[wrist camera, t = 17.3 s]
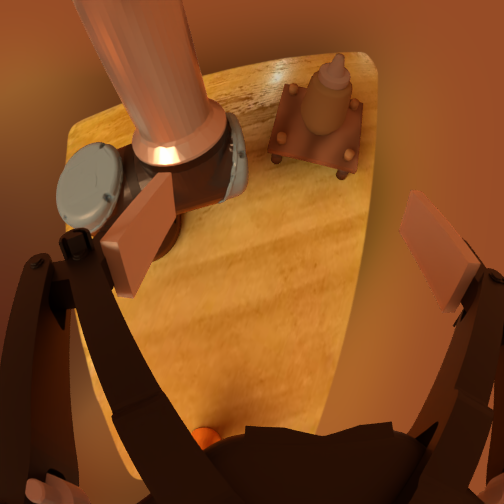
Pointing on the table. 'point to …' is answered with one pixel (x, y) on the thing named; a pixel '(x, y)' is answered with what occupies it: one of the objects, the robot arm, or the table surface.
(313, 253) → the table surface
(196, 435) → the beer glass
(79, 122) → the table surface
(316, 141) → the walnut stand
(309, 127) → the squeeze bottle
